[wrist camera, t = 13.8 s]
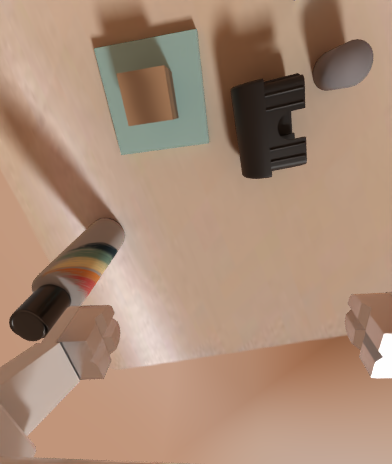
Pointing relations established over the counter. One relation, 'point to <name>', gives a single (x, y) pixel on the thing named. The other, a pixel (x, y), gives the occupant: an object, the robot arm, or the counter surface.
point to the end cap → (268, 125)
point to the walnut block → (148, 95)
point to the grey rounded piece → (343, 66)
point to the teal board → (185, 85)
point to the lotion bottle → (67, 279)
